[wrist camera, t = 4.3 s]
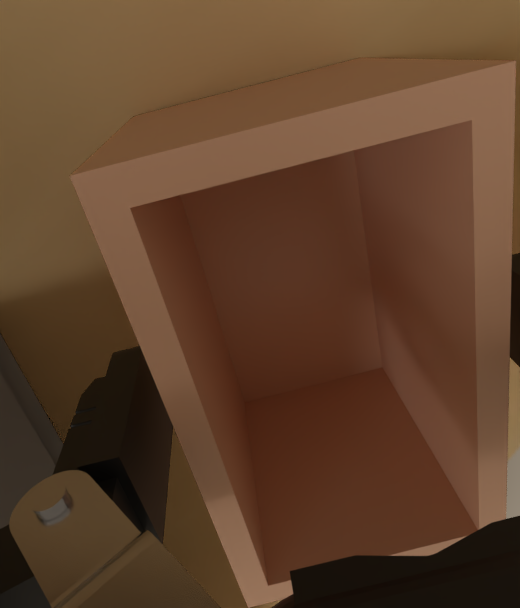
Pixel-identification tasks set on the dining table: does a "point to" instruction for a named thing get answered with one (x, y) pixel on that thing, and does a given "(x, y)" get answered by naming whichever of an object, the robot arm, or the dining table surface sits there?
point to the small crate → (325, 302)
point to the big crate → (22, 437)
